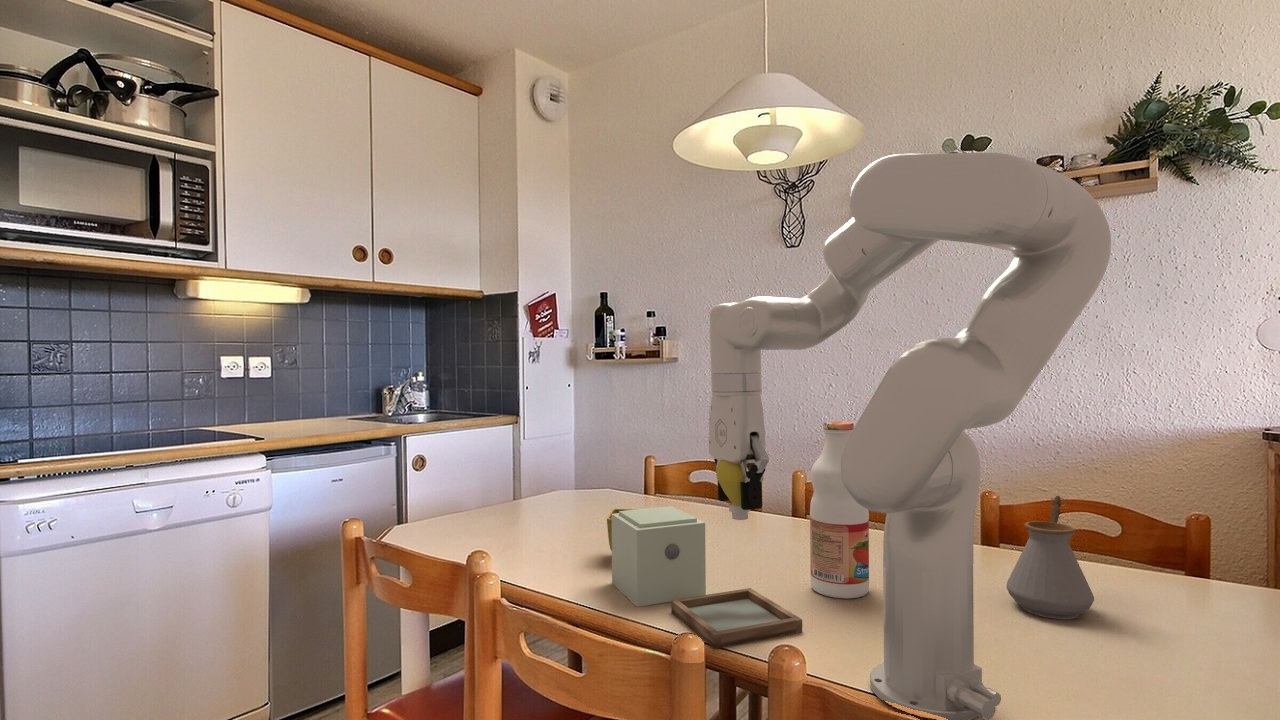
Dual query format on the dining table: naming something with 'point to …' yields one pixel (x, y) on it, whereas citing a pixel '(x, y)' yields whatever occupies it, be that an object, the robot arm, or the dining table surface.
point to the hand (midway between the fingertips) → (739, 503)
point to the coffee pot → (1050, 572)
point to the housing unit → (658, 555)
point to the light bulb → (732, 486)
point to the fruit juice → (837, 524)
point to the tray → (735, 617)
